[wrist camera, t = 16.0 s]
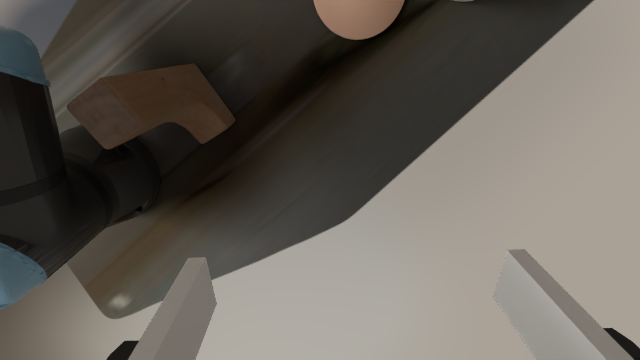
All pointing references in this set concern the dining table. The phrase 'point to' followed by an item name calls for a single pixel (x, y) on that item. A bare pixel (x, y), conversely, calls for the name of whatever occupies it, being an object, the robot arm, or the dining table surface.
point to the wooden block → (151, 105)
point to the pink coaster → (358, 16)
